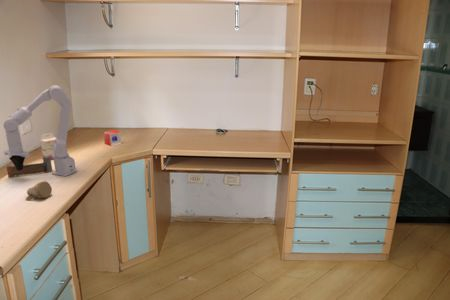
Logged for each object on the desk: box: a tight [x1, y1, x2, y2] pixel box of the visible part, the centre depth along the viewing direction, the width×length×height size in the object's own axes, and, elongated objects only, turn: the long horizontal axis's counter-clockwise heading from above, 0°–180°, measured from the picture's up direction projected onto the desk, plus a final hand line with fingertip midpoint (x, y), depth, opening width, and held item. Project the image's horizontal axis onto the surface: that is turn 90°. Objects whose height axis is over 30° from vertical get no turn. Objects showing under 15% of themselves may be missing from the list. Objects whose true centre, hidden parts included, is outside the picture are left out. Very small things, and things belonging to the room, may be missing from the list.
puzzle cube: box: [103, 129, 123, 147], centre depth 237 cm, size 8×8×8 cm
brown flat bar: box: [6, 161, 48, 178], centre depth 183 cm, size 1×17×5 cm, turn 113°
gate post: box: [41, 156, 53, 173], centre depth 187 cm, size 3×3×8 cm
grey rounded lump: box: [25, 181, 53, 201], centre depth 156 cm, size 8×10×10 cm
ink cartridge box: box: [39, 132, 57, 161], centre depth 206 cm, size 9×5×15 cm, turn 141°
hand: (19, 170), depth 177 cm, fingers closed
